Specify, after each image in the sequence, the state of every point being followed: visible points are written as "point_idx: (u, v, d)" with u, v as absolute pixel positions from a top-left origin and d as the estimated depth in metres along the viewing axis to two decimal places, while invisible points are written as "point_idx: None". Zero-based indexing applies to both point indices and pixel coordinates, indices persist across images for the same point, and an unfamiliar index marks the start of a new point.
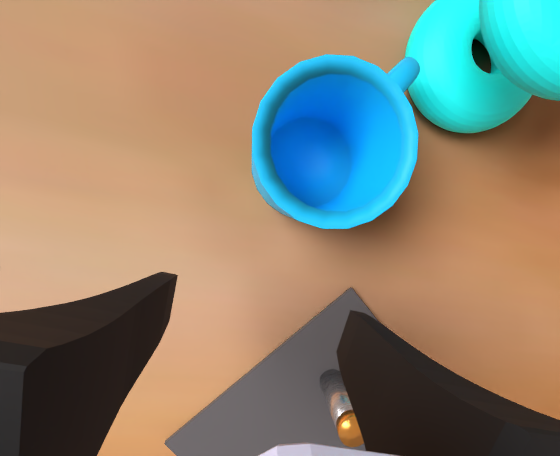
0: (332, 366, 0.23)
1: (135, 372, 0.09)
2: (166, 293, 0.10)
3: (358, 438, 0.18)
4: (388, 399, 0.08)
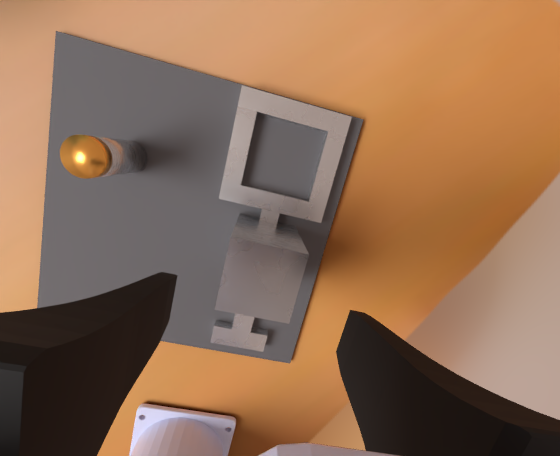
0: None
1: (135, 372, 0.09)
2: (166, 293, 0.10)
3: (93, 161, 0.13)
4: (388, 399, 0.08)
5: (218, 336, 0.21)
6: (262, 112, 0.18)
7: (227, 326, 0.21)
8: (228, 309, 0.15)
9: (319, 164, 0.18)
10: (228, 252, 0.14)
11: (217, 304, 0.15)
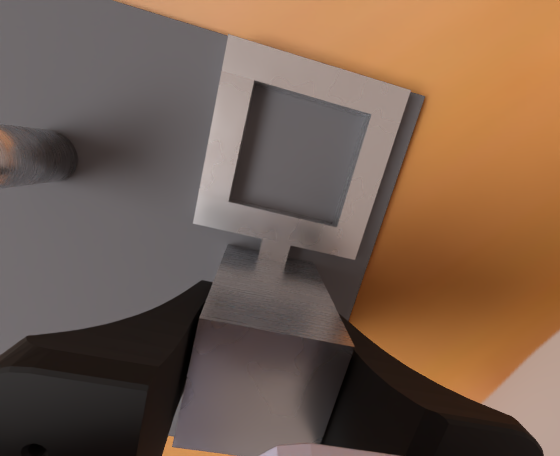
0: None
1: (185, 380, 0.09)
2: None
3: None
4: None
5: None
6: (263, 82, 0.11)
7: None
8: (198, 446, 0.08)
9: (355, 168, 0.11)
10: (196, 346, 0.07)
11: (177, 438, 0.08)
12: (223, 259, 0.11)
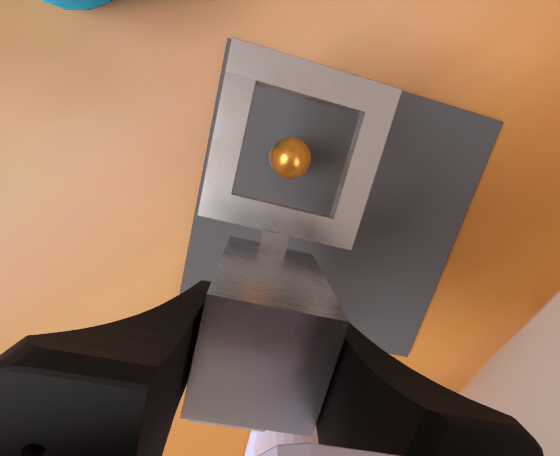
0: (273, 142, 0.19)
1: (185, 380, 0.09)
2: None
3: (300, 162, 0.14)
4: (338, 391, 0.08)
5: None
6: (264, 81, 0.11)
7: None
8: (205, 417, 0.08)
9: (351, 163, 0.12)
10: (203, 321, 0.08)
11: (185, 409, 0.08)
12: (226, 248, 0.11)
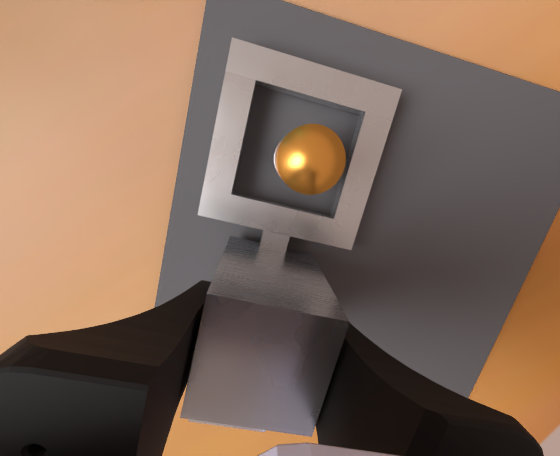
0: (278, 135, 0.13)
1: (185, 380, 0.09)
2: None
3: (327, 166, 0.08)
4: (338, 391, 0.08)
5: None
6: (264, 81, 0.11)
7: None
8: (205, 417, 0.08)
9: (351, 162, 0.12)
10: (203, 320, 0.08)
11: (185, 409, 0.08)
12: (226, 248, 0.11)
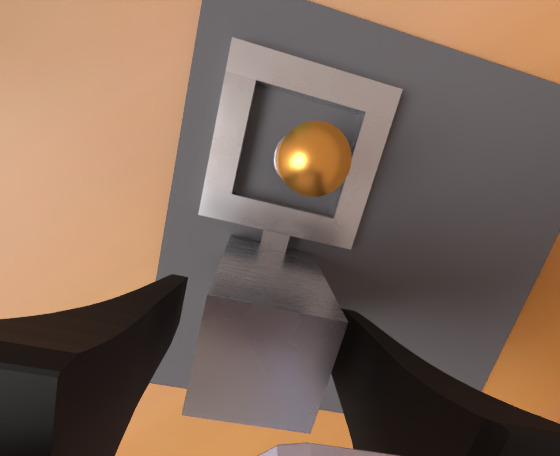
0: (279, 134, 0.12)
1: (149, 374, 0.09)
2: (178, 295, 0.10)
3: (332, 167, 0.08)
4: (375, 397, 0.08)
5: None
6: (264, 81, 0.11)
7: None
8: (206, 414, 0.09)
9: (351, 162, 0.12)
10: (204, 321, 0.08)
11: (186, 407, 0.08)
12: (227, 247, 0.12)
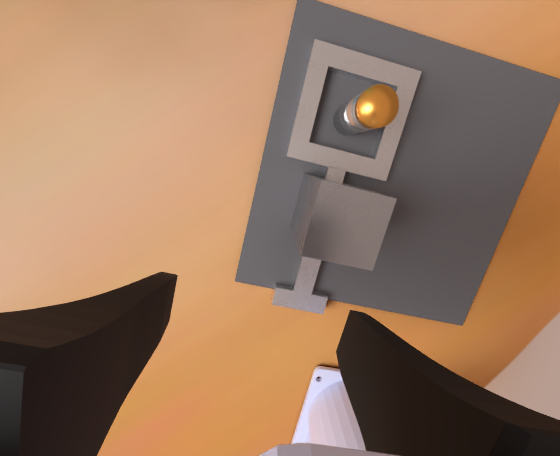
0: (339, 103, 0.19)
1: (135, 372, 0.09)
2: (166, 293, 0.10)
3: (388, 110, 0.14)
4: (388, 399, 0.08)
5: (280, 298, 0.21)
6: (333, 67, 0.18)
7: (288, 288, 0.21)
8: (314, 255, 0.15)
9: None
10: (318, 196, 0.14)
11: (304, 250, 0.15)
12: (309, 175, 0.18)
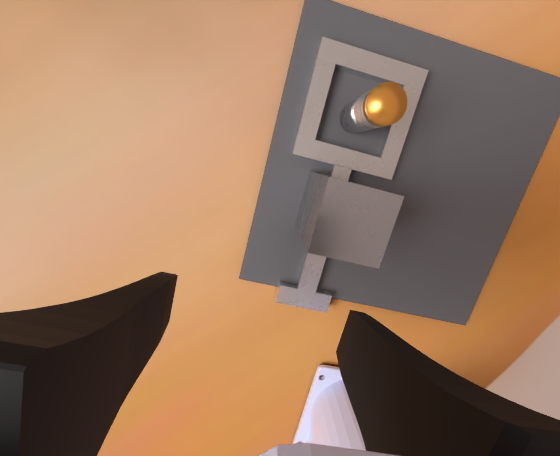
0: (345, 101, 0.19)
1: (135, 372, 0.09)
2: (166, 293, 0.10)
3: (396, 108, 0.14)
4: (388, 399, 0.08)
5: (284, 296, 0.21)
6: (340, 65, 0.18)
7: (292, 286, 0.21)
8: (321, 252, 0.15)
9: None
10: (325, 193, 0.14)
11: (310, 247, 0.15)
12: None
